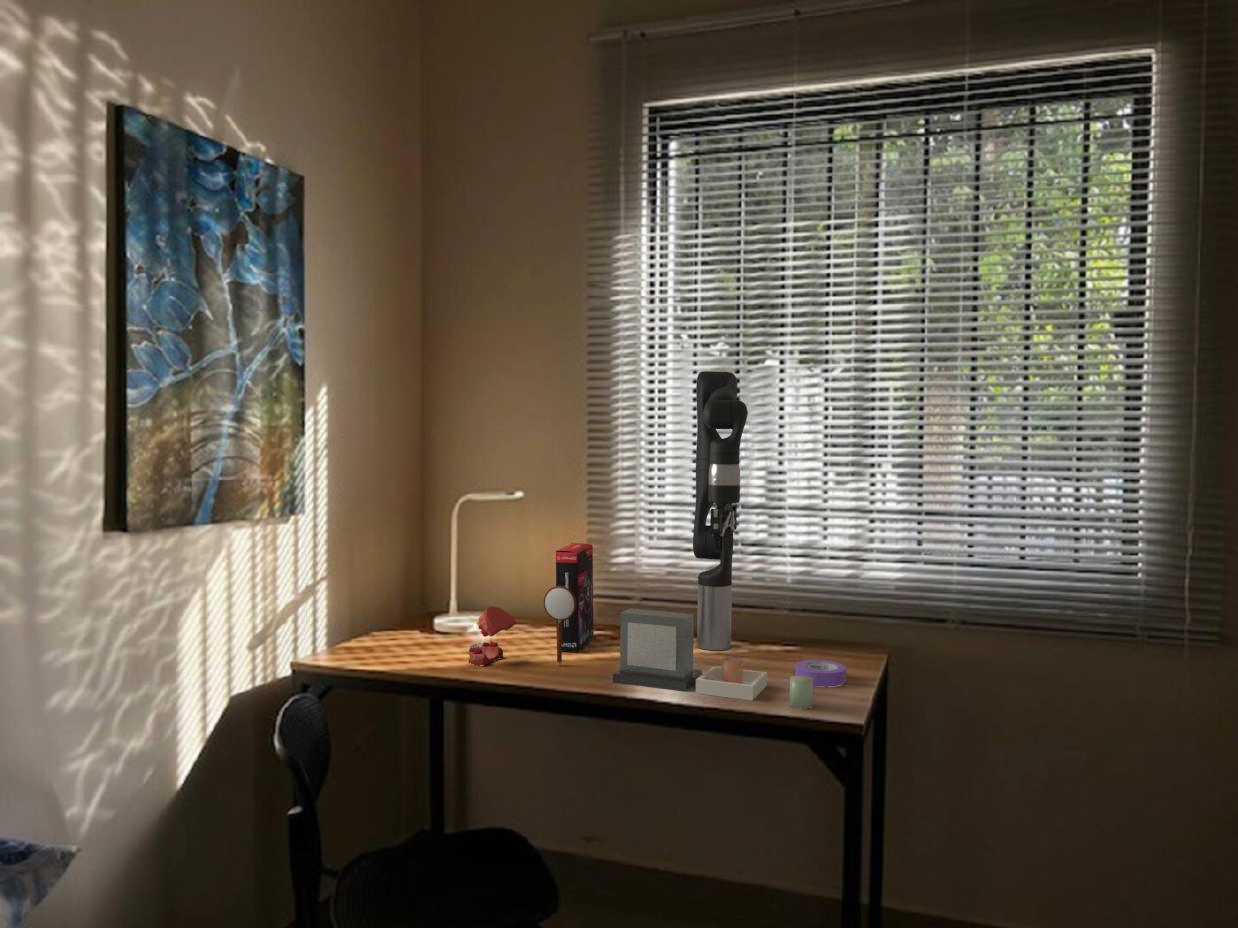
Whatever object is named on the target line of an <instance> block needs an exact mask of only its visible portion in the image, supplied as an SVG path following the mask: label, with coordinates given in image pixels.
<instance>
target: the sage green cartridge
mask: <svg viewBox="0 0 1238 928" xmlns="http://www.w3.org/2000/svg"><path fill="white" fill-rule="evenodd" d="M813 690H814V687H813V678H811V677H808V676H795V675H792V676H790V677H789V707H790V706H792V707H794V708H801V709H805V708H811V707H812V708H813V702H814V701H813V696H814V691H813ZM794 708H793V709H794ZM812 708H811V709H812Z"/></svg>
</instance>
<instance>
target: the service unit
mask: <svg viewBox="0 0 1238 928" xmlns="http://www.w3.org/2000/svg"><path fill="white" fill-rule="evenodd" d="M694 620H695V615H694V613H687V612H686V613H684V612H674V611H673V612H672V611H665V610H653V609H642V608H641V609H640V608H631V607H630V608H628V609H626V610H624V611H622V612H620V629H619V630H620V632H619V633H620V636H619V637H620V639H619V640H620V641H619V642H620V644H619V645H620V646H619V648H620V649H619V651H620V652H619V669H618V670H616V671H614V672H613V673H612V683H615V684H616V683H617V684H624V685H634V686H640V687H641V686H642V687H648V688H656V689H665V690H672V691H680V692H687V691H688V690H689V689H690V688H692V687H694V686H696V679H697V678H699V677H700V676H701V675H702V674H703V670H702V669H696V668H694V636H695V634H694V632H695V631H694V630H695V629H694V626H695V625H694V624H695V623H694V622H695V621H694Z"/></svg>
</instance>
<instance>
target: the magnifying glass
mask: <svg viewBox="0 0 1238 928" xmlns="http://www.w3.org/2000/svg"><path fill="white" fill-rule="evenodd" d="M543 609H544V610H545V612H546V614H547V615H548V616H549V617H550V618H551V619H552V620H555V621H556V620H558V622H557V623H556V662H557V665H558V666H559V667H560V666H561V665H562V662H563V661H562V660H563V656H562V655H563V652H562V622H561V621H562V620H566V619H568V618H570V617H571V616H572V615H573V613H574V612H575V609H576V599H575V596H574V594H573V593H572V592H571V591H570V590H569V589H568V588H566V587H564V586H556V585H555V586H553V587H551V588H550V589H548V590H547V591H546V593H545V594H544V597H543Z"/></svg>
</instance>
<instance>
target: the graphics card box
mask: <svg viewBox="0 0 1238 928" xmlns="http://www.w3.org/2000/svg"><path fill="white" fill-rule="evenodd" d="M593 547H594V546H593V544H591V543H590V544H589V543H585V542H584V543H582V542H581V543H580V542H571V543H570V544H567V545H565V546H563V547H561V548H558V549H557V550H555V586H564V587H566V588H568V589H569V590H570V591H571V592H572V593H573V594H574V596H575V599H576V609H575V612H574V613H573V615H572V616H571V617H570V618H568V619H566V620H562V621H561V622H562V653H563V652H567V653H569V652H570V653H579V652H580V651H582V650H583V648H584V647H585V646H587V645H588V644H589V643H590V642H591V641H593V639H594V637H595V635H594V634H595V633H594V629H595V628H594V561H593V560H594V559H593V557H594V556H593V555H594V553H593ZM555 621H556V623H555V624H557V622H558V620H555Z"/></svg>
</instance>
